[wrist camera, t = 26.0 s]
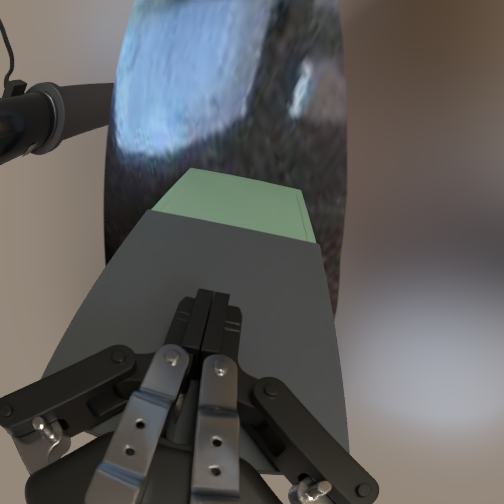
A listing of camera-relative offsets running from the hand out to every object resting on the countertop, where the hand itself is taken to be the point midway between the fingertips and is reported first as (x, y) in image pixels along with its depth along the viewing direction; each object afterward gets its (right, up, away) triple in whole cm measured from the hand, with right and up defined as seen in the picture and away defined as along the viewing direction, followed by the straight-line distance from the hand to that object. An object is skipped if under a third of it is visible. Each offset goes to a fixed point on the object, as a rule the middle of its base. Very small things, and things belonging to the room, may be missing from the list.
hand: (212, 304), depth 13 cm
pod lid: (0, -1, +2) cm, 2 cm away
